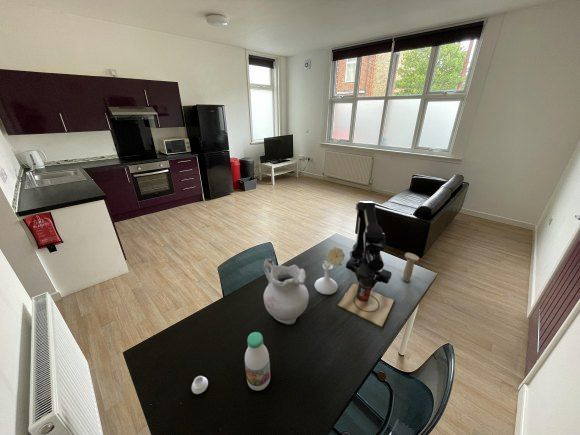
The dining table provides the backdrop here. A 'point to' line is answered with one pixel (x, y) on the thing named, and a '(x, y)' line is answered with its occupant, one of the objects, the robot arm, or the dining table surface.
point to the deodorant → (364, 289)
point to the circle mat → (367, 306)
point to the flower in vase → (326, 283)
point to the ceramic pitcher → (285, 292)
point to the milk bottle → (257, 362)
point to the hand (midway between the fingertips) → (365, 284)
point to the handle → (409, 266)
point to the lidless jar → (199, 384)
